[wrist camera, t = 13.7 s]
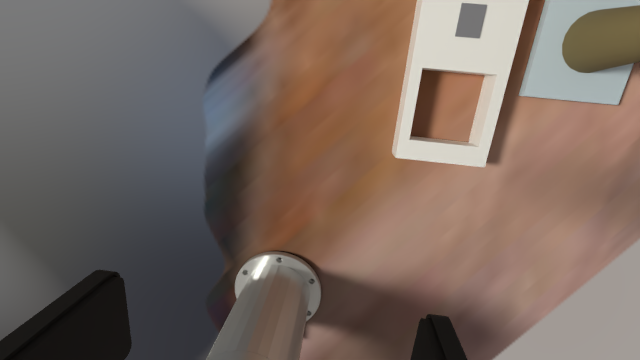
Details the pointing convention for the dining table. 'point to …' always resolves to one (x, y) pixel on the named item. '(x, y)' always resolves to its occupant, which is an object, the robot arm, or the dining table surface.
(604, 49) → the olive rounded piece
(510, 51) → the white board with cutout
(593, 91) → the rubber mat
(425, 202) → the dining table surface
